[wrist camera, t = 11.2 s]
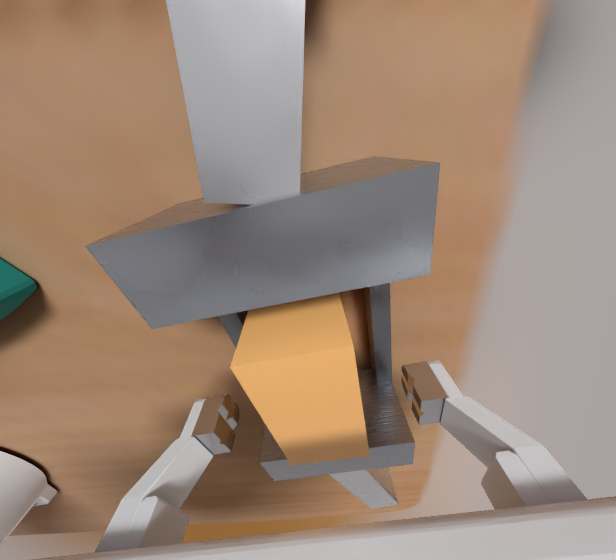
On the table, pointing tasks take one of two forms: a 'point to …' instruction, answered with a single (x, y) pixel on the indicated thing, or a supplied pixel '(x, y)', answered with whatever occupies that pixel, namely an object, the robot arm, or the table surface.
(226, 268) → the grey long piece
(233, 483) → the table surface
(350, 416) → the light orange rectangular block
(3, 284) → the digital multimeter
